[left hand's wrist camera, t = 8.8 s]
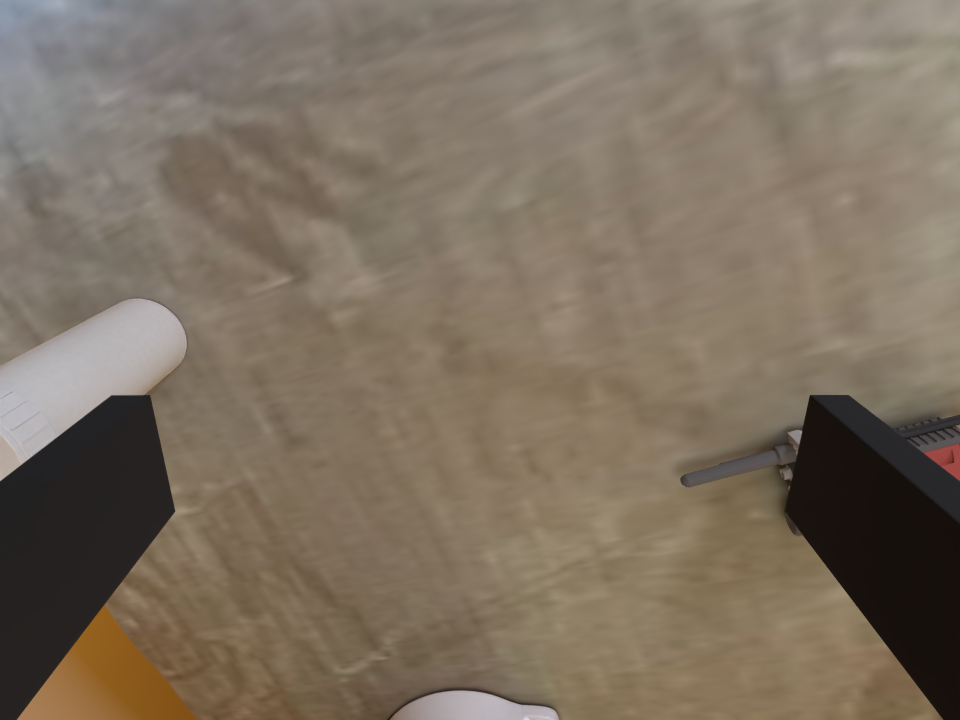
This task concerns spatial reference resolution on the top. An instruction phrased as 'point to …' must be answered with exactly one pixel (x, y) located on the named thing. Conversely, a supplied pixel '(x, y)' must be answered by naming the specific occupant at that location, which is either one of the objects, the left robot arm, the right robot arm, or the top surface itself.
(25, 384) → the jar
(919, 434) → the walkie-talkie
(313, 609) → the top surface
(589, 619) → the top surface
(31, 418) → the lid
